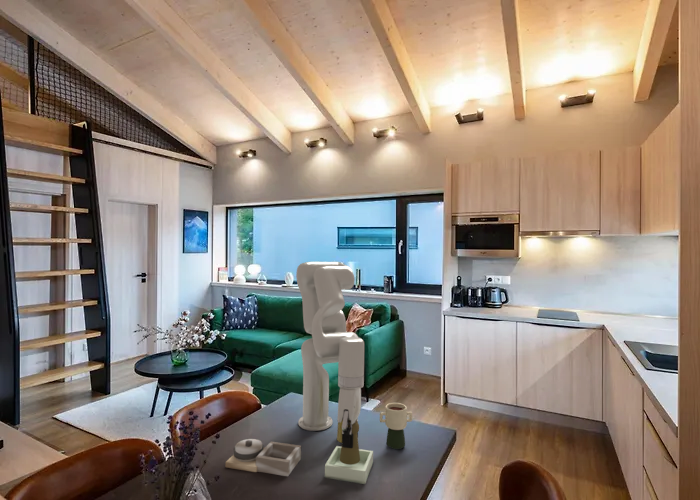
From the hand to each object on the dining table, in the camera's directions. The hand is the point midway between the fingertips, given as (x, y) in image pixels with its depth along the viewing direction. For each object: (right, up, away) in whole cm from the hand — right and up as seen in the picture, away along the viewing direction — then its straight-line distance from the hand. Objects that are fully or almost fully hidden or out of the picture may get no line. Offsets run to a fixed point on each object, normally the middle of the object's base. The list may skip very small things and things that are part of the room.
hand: (350, 441), depth 116 cm
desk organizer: (-26, -8, +3) cm, 27 cm away
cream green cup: (+15, -9, +15) cm, 23 cm away
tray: (0, -8, 0) cm, 8 cm away
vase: (-1, -9, +19) cm, 21 cm away
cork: (0, -5, 0) cm, 5 cm away
